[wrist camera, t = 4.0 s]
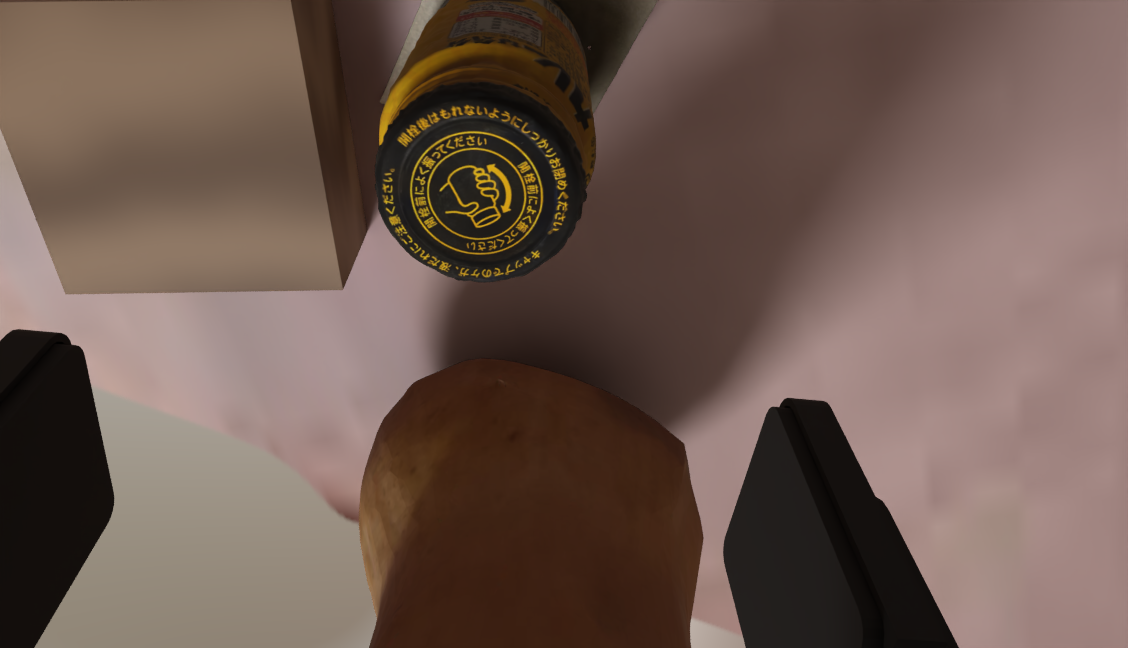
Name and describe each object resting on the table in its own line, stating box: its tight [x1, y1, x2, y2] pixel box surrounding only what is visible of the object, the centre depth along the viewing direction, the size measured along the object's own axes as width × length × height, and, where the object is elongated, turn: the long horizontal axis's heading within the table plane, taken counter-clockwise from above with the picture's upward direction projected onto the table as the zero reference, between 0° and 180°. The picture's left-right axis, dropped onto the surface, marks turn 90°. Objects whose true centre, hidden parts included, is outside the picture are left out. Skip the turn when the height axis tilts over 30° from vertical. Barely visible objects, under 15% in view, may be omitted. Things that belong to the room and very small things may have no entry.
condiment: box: [375, 0, 657, 282], centre depth 25 cm, size 7×8×12 cm
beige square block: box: [0, 0, 367, 294], centre depth 29 cm, size 10×10×5 cm
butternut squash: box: [359, 358, 703, 648], centre depth 28 cm, size 14×13×25 cm
